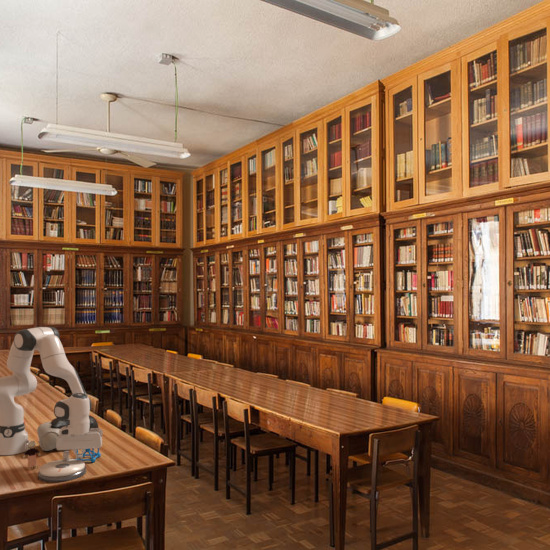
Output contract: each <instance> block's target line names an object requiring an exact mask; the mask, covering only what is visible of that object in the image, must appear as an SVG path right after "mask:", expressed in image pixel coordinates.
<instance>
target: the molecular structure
mask: <svg viewBox="0 0 550 550" xmlns="http://www.w3.org/2000/svg"><path fill="white" fill-rule="evenodd" d="M76 452H77V453H78V454H79V449H77V451H76ZM82 452H83V451H82V450H81V452H80V454H82ZM86 456H87V457H90V458H85V457H86ZM101 456H102V454H101V452H100V448H97V452H95V448H94V449H85V452H84V453H83V458H82V459H77V460H81V461H83V462H85V461H86V462H91V463H92V464H93V463H95V462H96V459H97V458H100V457H101ZM74 459H76V457H75V458H74Z"/></svg>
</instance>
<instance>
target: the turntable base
mask: <svg viewBox="0 0 550 550" xmlns="http://www.w3.org/2000/svg"><path fill="white" fill-rule="evenodd" d="M86 472H87V467H86V465H85V468H84V469H83V470H82V471H80V472H78V473H75V474H72V475H67V476H60V477H48V476H43V475H41V474H40V473H39V471H38V473H37V475H38V476H37V478H38V480H40V481H42V482H45V483H62V482H63V483H64V482H68V481H73V480H76V479H79V478H81V477H82V476H84V475H85V474H86Z"/></svg>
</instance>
